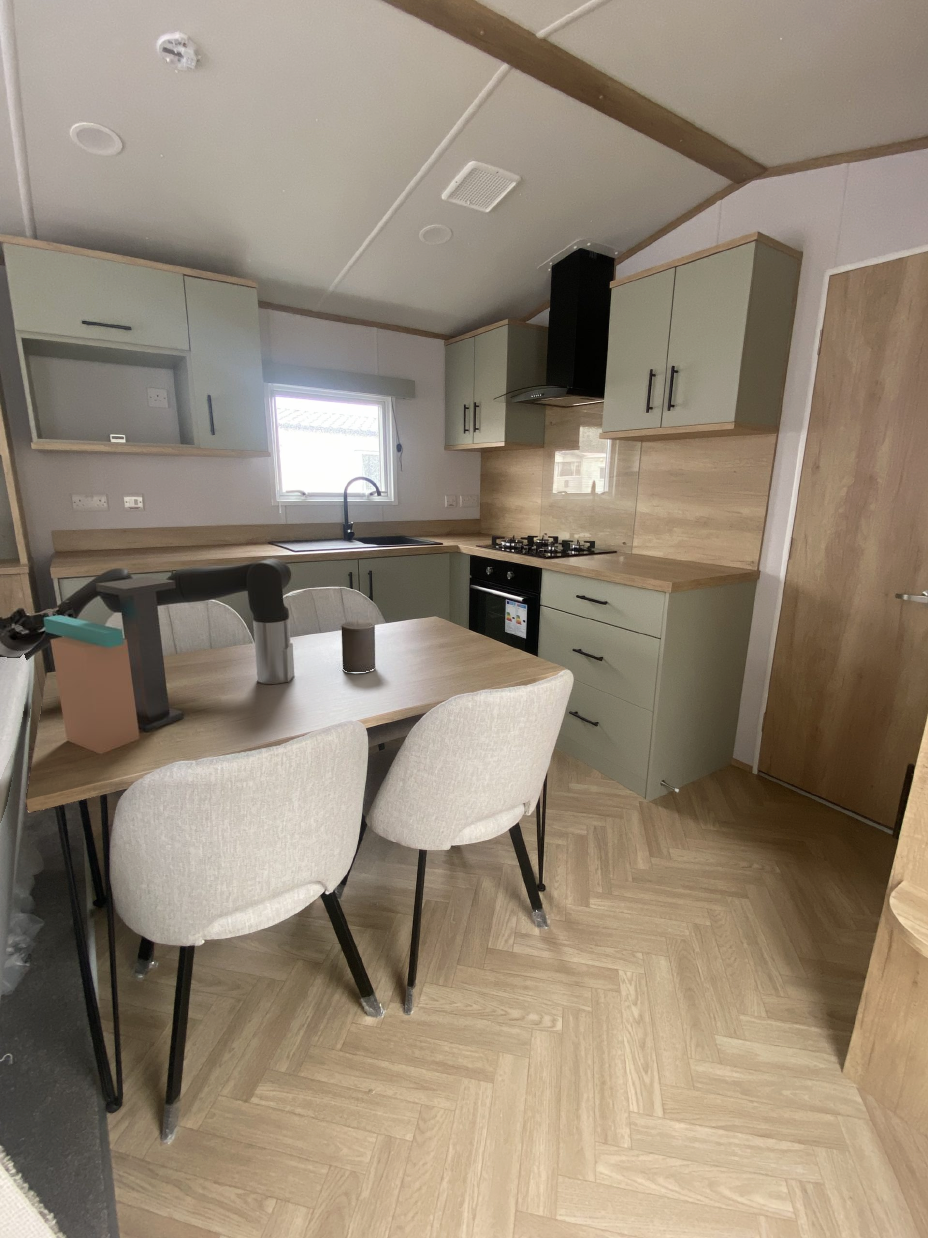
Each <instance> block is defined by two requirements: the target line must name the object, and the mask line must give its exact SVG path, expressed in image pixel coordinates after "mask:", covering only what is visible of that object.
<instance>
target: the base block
mask: <svg viewBox="0 0 928 1238" xmlns="http://www.w3.org/2000/svg"><path fill="white" fill-rule="evenodd" d="M123 642H124V644H123V645H119V646H115V647H110V648H106V647H102V646H99V645H95V644H91V643H87V642H83V641H79V640H75V639H72V638H68V637H64V636H63V637H60V638H56V639H51V651H52V657H53V662H54V663H53V664H54V668H55V675H56V681H57V688H58V693H59V700H60V707H61V711H62V719H63V723H64V730H65V735H66V736H65V737H66V741H67V742H70V743H73V744H74V745H77V746H80V747H81V748H85V749H87V750H89V751H92V752H94V753H96V754H99V755H102V754H105V753H107V752H109V751H112V750H115V749H117V748H120V747H123V746H125V745H128V744H131V743H132V742H134V741H137V740H140V733H139V732H140V730H138V723H137V715H136V707H135V700H134V692H133V684H132V677H131V669H130V661H129V653H128V646H127V639H125V637H123Z"/></svg>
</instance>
